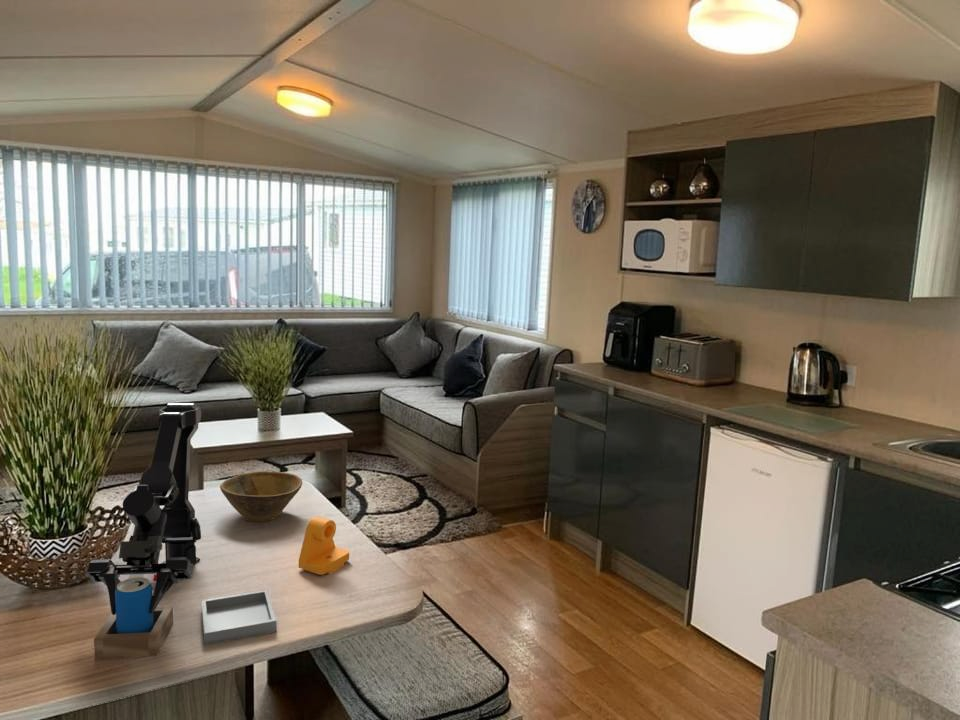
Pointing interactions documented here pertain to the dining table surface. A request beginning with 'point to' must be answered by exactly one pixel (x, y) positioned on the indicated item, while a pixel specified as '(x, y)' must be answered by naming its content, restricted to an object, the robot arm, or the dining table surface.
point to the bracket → (321, 548)
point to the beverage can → (134, 606)
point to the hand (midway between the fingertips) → (132, 613)
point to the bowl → (261, 493)
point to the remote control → (150, 577)
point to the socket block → (133, 637)
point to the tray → (237, 617)
